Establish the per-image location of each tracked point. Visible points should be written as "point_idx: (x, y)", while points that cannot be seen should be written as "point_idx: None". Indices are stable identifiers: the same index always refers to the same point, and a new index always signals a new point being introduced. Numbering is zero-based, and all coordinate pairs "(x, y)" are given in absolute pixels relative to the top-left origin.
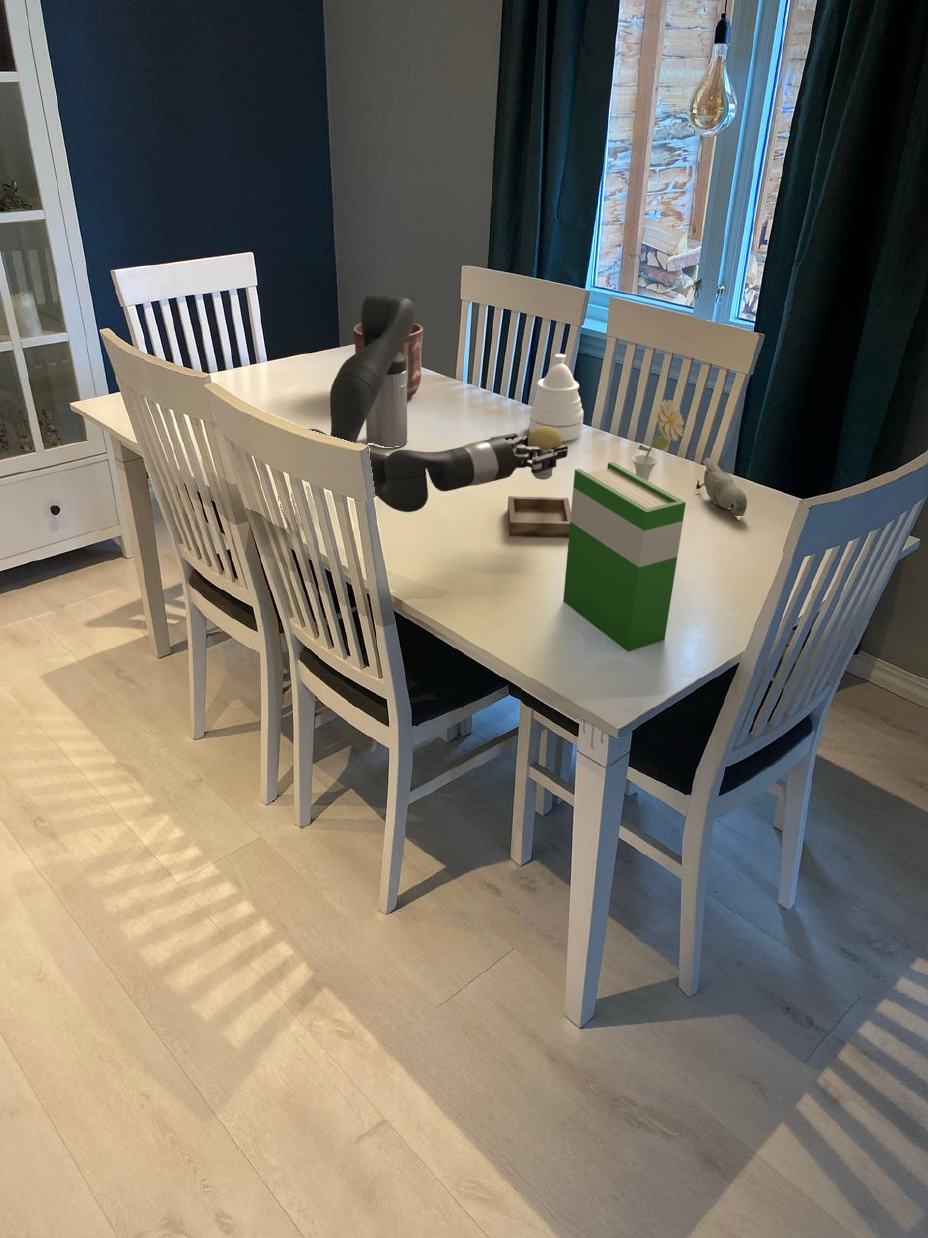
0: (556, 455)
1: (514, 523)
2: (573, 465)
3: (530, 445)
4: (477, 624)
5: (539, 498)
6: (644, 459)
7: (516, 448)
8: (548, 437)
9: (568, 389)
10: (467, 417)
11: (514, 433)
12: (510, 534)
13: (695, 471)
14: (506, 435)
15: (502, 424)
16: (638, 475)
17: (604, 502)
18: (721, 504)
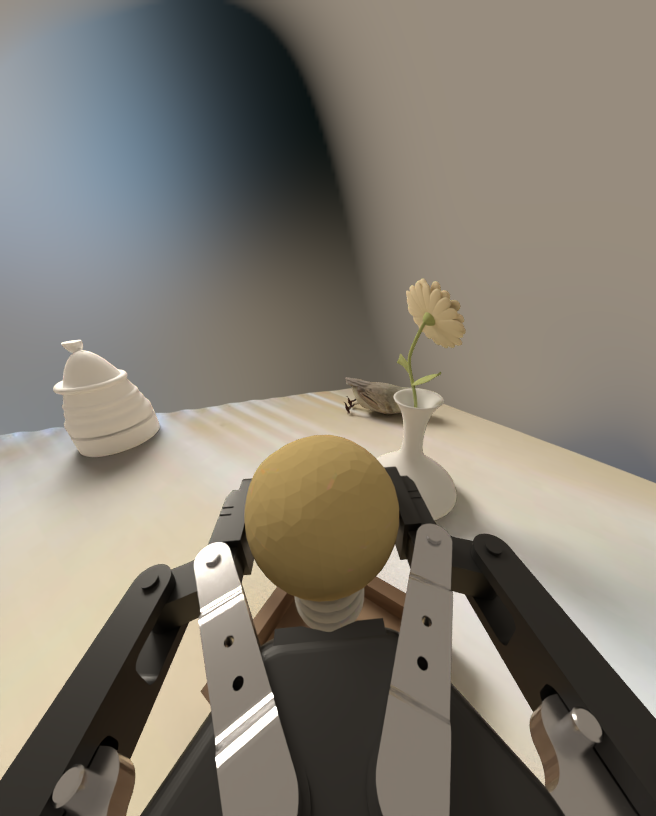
0: (505, 547)
1: None
2: (200, 463)
3: (317, 589)
4: None
5: (276, 601)
6: (403, 399)
7: (335, 777)
8: (384, 490)
9: (116, 378)
10: None
11: (143, 578)
12: None
13: (308, 399)
14: (100, 650)
15: (24, 468)
16: (419, 428)
17: None
18: (397, 411)
